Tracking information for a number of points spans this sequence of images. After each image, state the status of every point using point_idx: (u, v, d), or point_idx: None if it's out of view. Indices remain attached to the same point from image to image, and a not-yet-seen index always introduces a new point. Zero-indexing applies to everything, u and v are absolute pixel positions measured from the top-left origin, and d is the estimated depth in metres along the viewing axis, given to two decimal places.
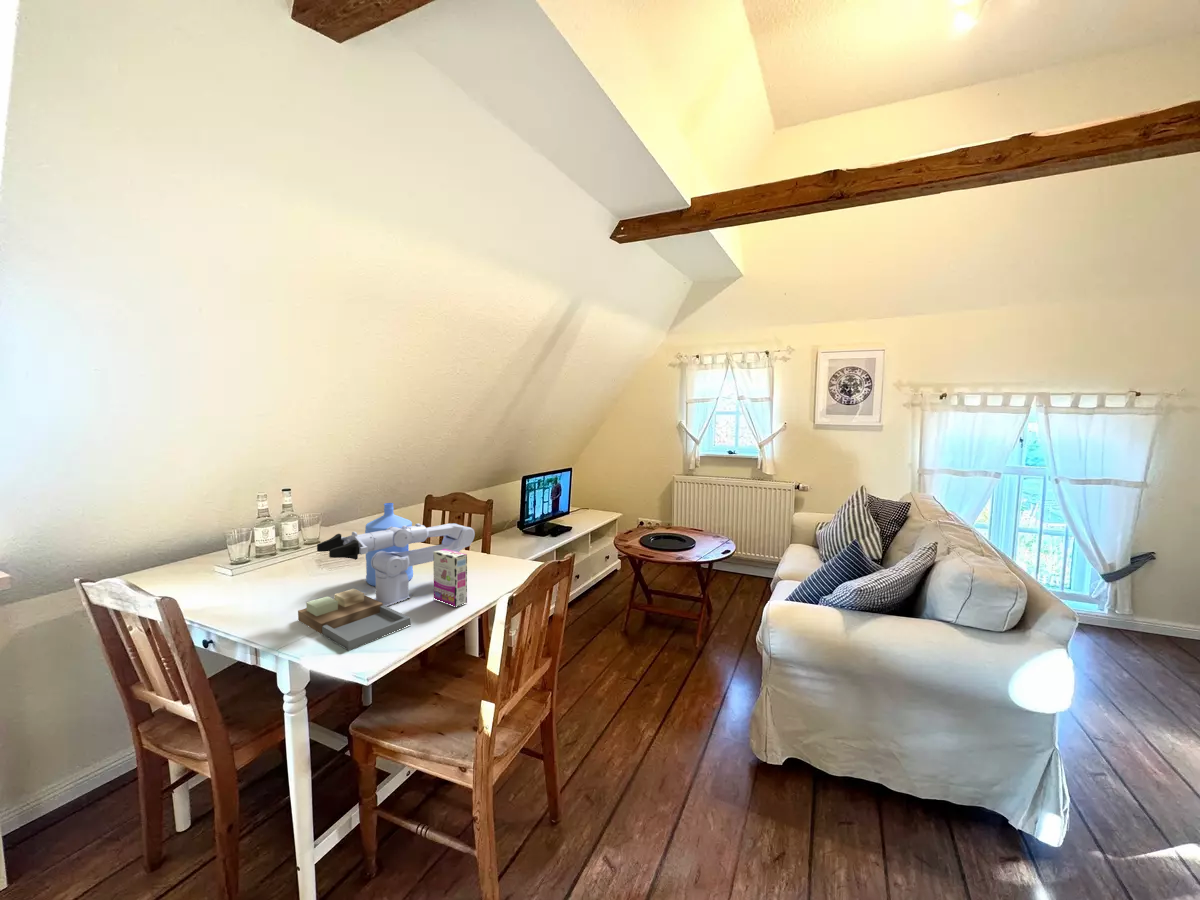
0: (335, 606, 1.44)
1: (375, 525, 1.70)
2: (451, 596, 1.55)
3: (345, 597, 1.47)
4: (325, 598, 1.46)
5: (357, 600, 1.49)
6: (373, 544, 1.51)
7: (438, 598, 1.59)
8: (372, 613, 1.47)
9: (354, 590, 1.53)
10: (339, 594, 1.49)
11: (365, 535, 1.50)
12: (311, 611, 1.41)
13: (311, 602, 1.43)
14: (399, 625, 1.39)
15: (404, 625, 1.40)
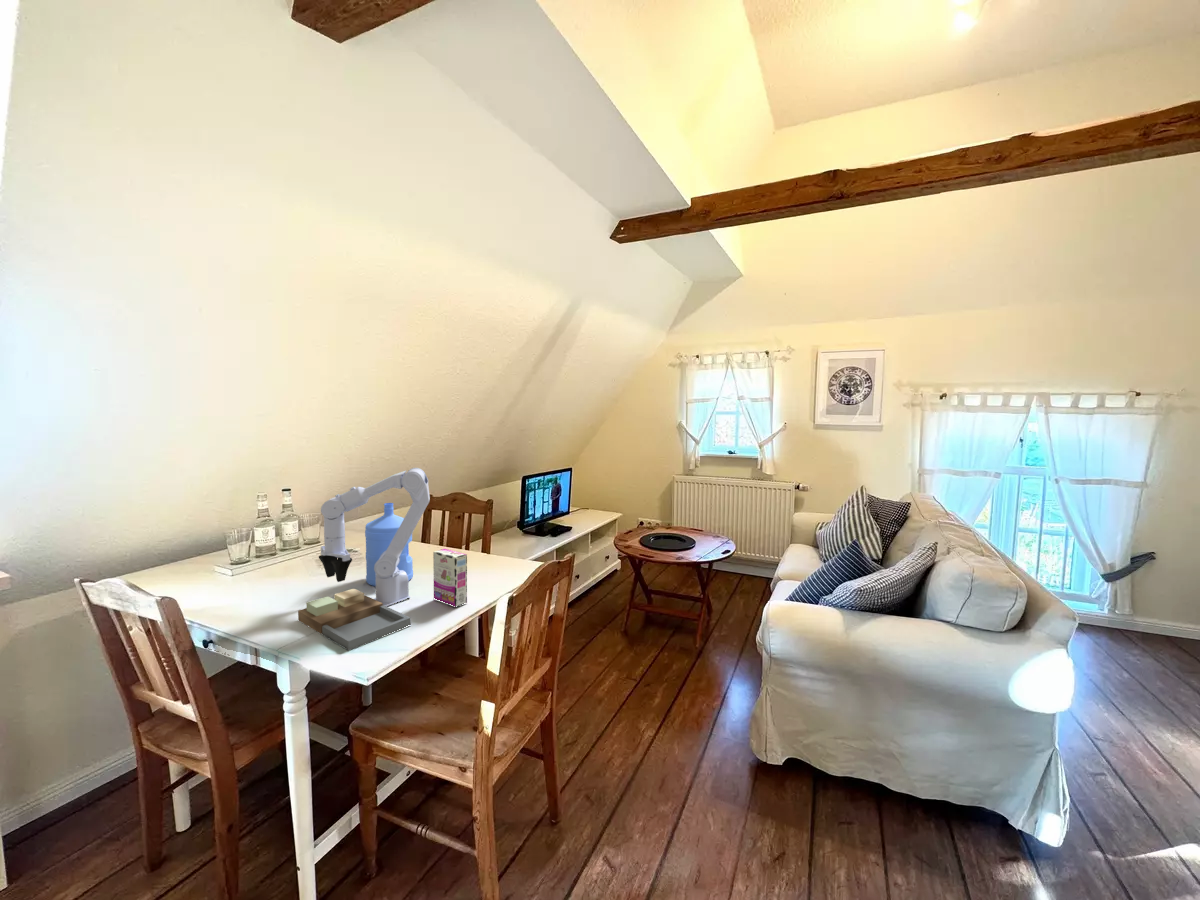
0: (335, 606, 1.44)
1: (375, 525, 1.70)
2: (451, 596, 1.55)
3: (345, 597, 1.47)
4: (325, 598, 1.46)
5: (357, 600, 1.49)
6: (339, 538, 1.52)
7: (438, 598, 1.59)
8: (372, 613, 1.47)
9: (354, 590, 1.53)
10: (339, 594, 1.49)
11: (327, 544, 1.51)
12: (311, 611, 1.41)
13: (311, 602, 1.43)
14: (399, 625, 1.39)
15: (404, 625, 1.40)
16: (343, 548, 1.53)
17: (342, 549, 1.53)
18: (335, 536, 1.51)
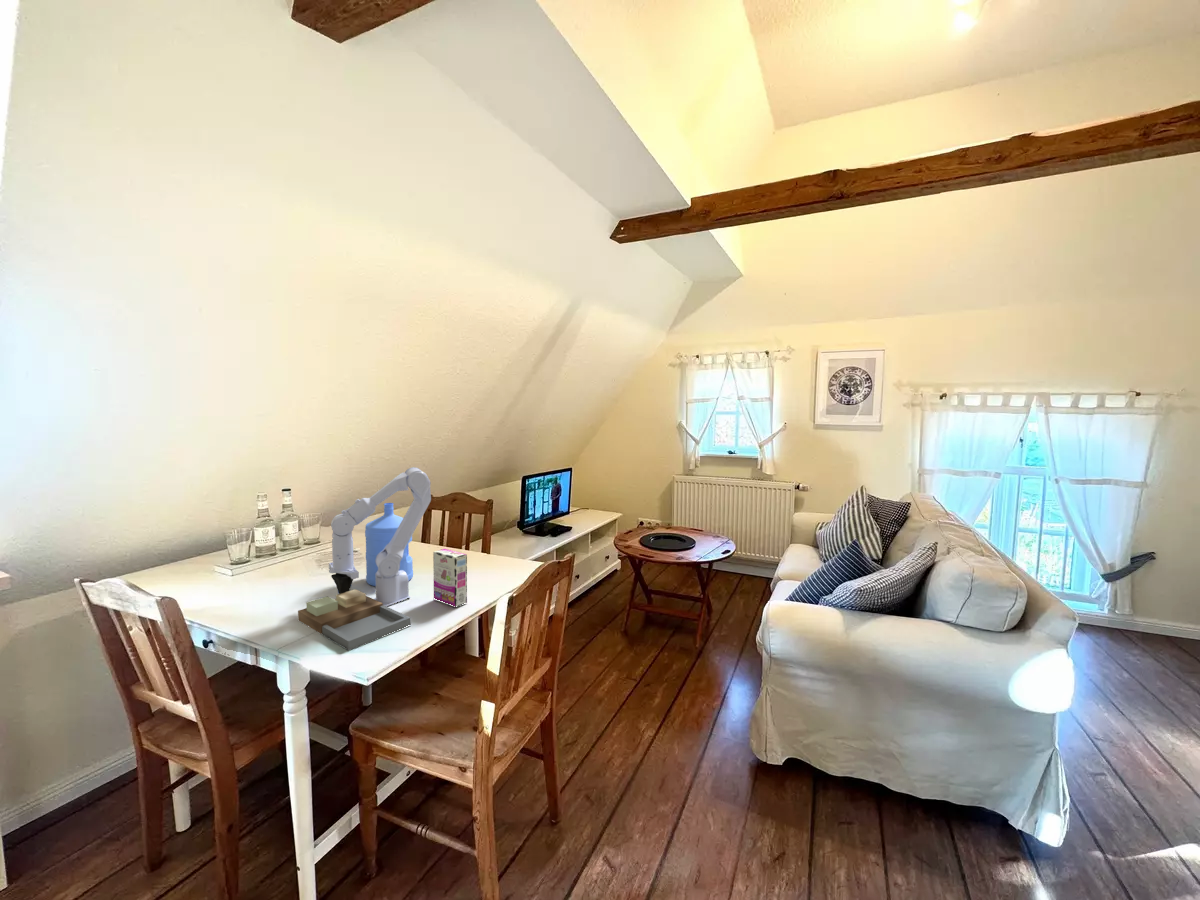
0: (335, 606, 1.44)
1: (375, 525, 1.70)
2: (451, 596, 1.55)
3: (346, 598, 1.46)
4: (325, 598, 1.46)
5: (358, 601, 1.49)
6: (347, 555, 1.49)
7: (438, 598, 1.59)
8: (372, 613, 1.47)
9: (356, 591, 1.52)
10: (341, 595, 1.49)
11: (335, 562, 1.48)
12: (311, 611, 1.41)
13: (311, 602, 1.43)
14: (399, 625, 1.39)
15: (404, 625, 1.40)
16: (351, 565, 1.51)
17: (350, 566, 1.51)
18: (346, 553, 1.49)
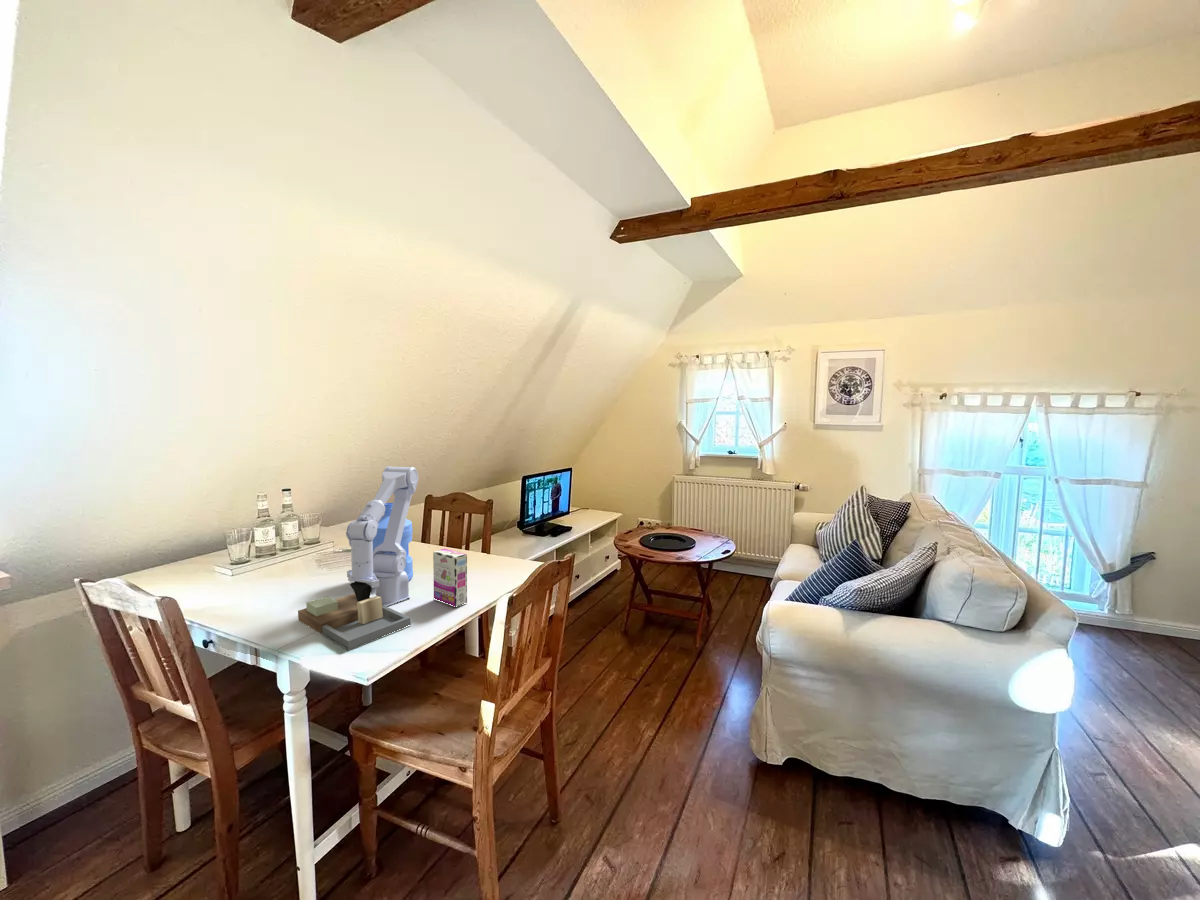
0: (335, 606, 1.44)
1: None
2: (451, 596, 1.55)
3: (364, 620, 1.41)
4: (325, 598, 1.46)
5: None
6: (367, 563, 1.43)
7: (438, 598, 1.59)
8: None
9: (379, 603, 1.44)
10: (364, 607, 1.41)
11: (355, 569, 1.42)
12: (311, 611, 1.41)
13: (311, 602, 1.43)
14: (399, 625, 1.39)
15: (404, 625, 1.40)
16: (371, 573, 1.44)
17: (370, 574, 1.44)
18: (372, 558, 1.45)
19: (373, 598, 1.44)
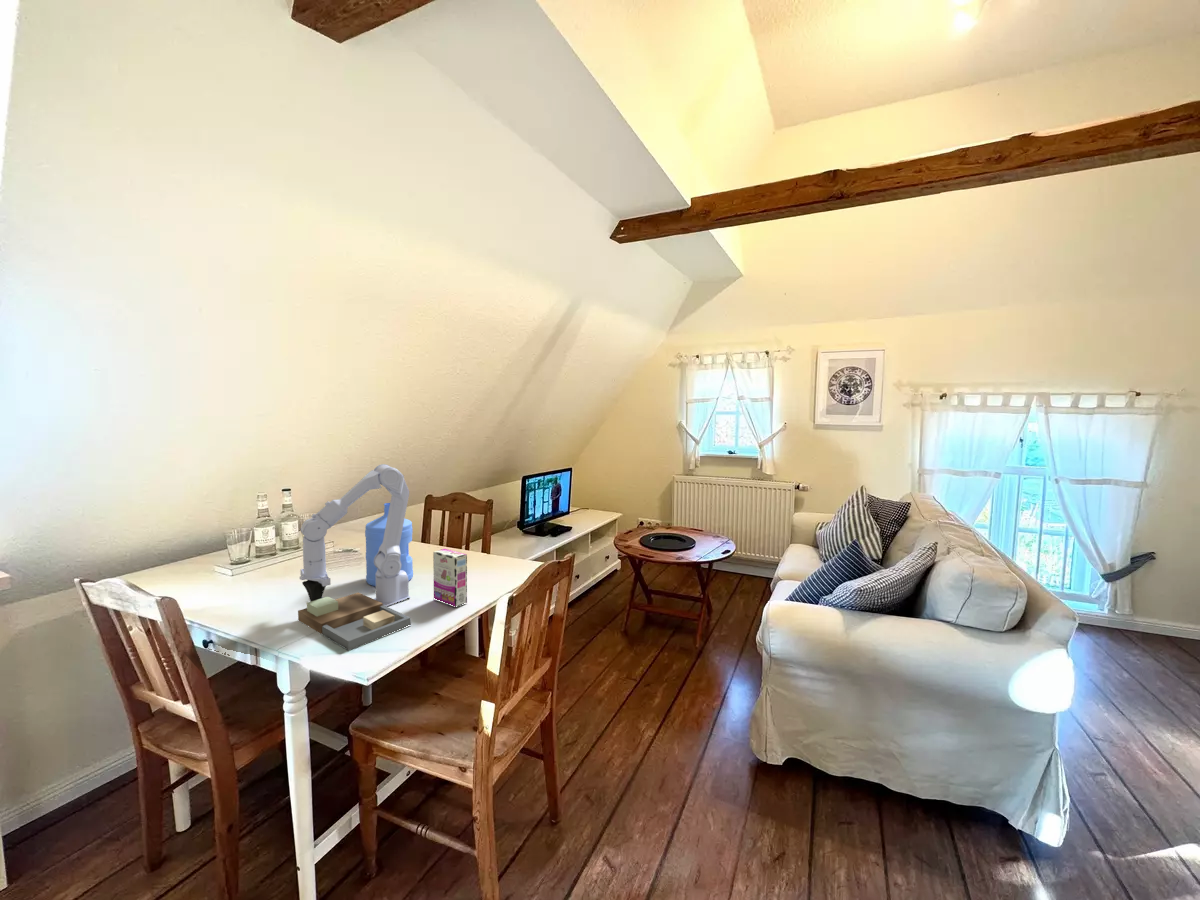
0: (335, 606, 1.44)
1: (375, 525, 1.70)
2: (451, 596, 1.55)
3: None
4: (325, 598, 1.46)
5: None
6: (319, 562, 1.43)
7: (438, 598, 1.59)
8: (372, 613, 1.47)
9: None
10: None
11: (306, 568, 1.42)
12: (311, 611, 1.41)
13: (311, 602, 1.43)
14: (399, 625, 1.39)
15: (404, 625, 1.40)
16: (323, 572, 1.45)
17: (322, 573, 1.45)
18: (319, 558, 1.43)
19: (388, 622, 1.40)
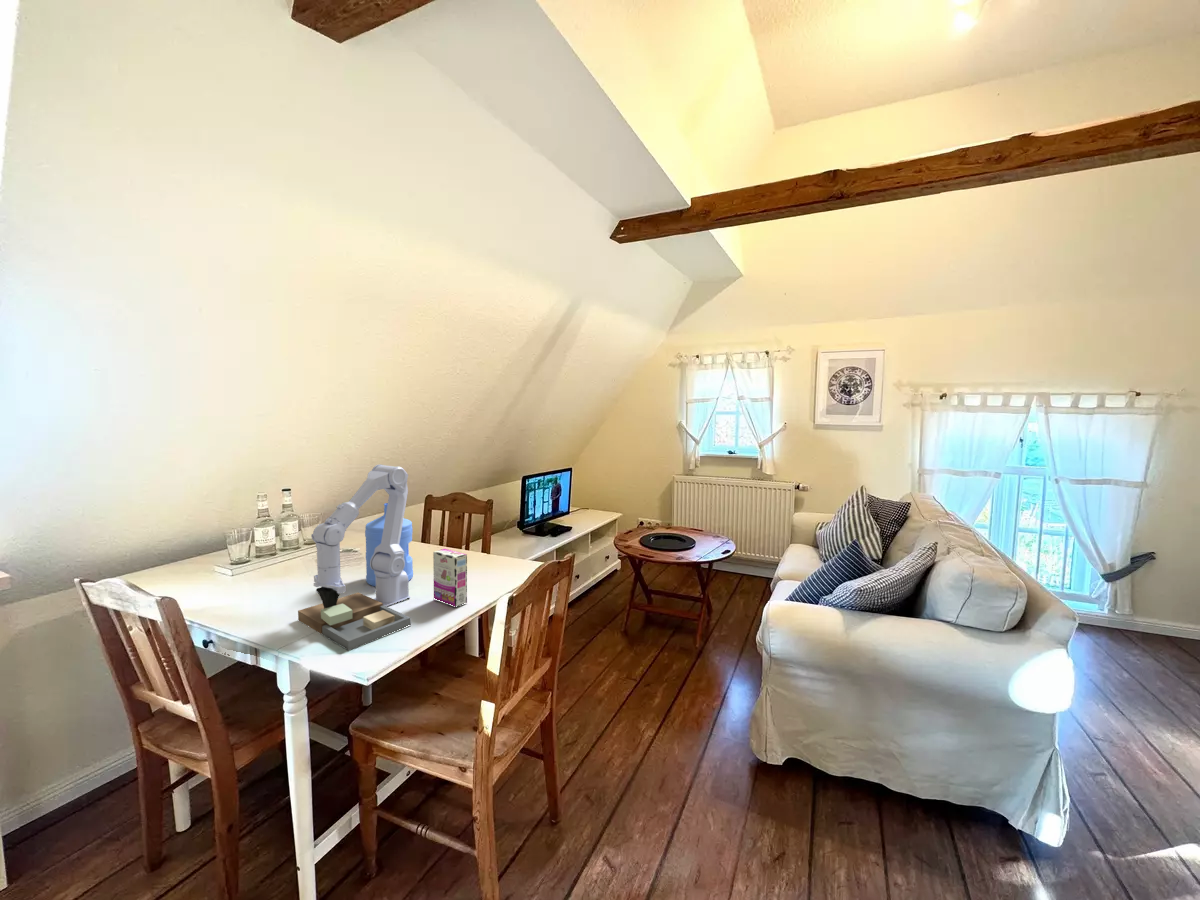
0: (350, 615, 1.39)
1: (375, 525, 1.70)
2: (451, 596, 1.55)
3: None
4: (340, 606, 1.41)
5: None
6: (334, 568, 1.38)
7: (438, 598, 1.59)
8: (372, 613, 1.47)
9: None
10: None
11: (321, 574, 1.37)
12: (325, 619, 1.36)
13: (326, 610, 1.38)
14: (399, 625, 1.39)
15: (404, 625, 1.40)
16: (338, 578, 1.40)
17: (337, 579, 1.40)
18: (337, 563, 1.39)
19: (388, 622, 1.40)
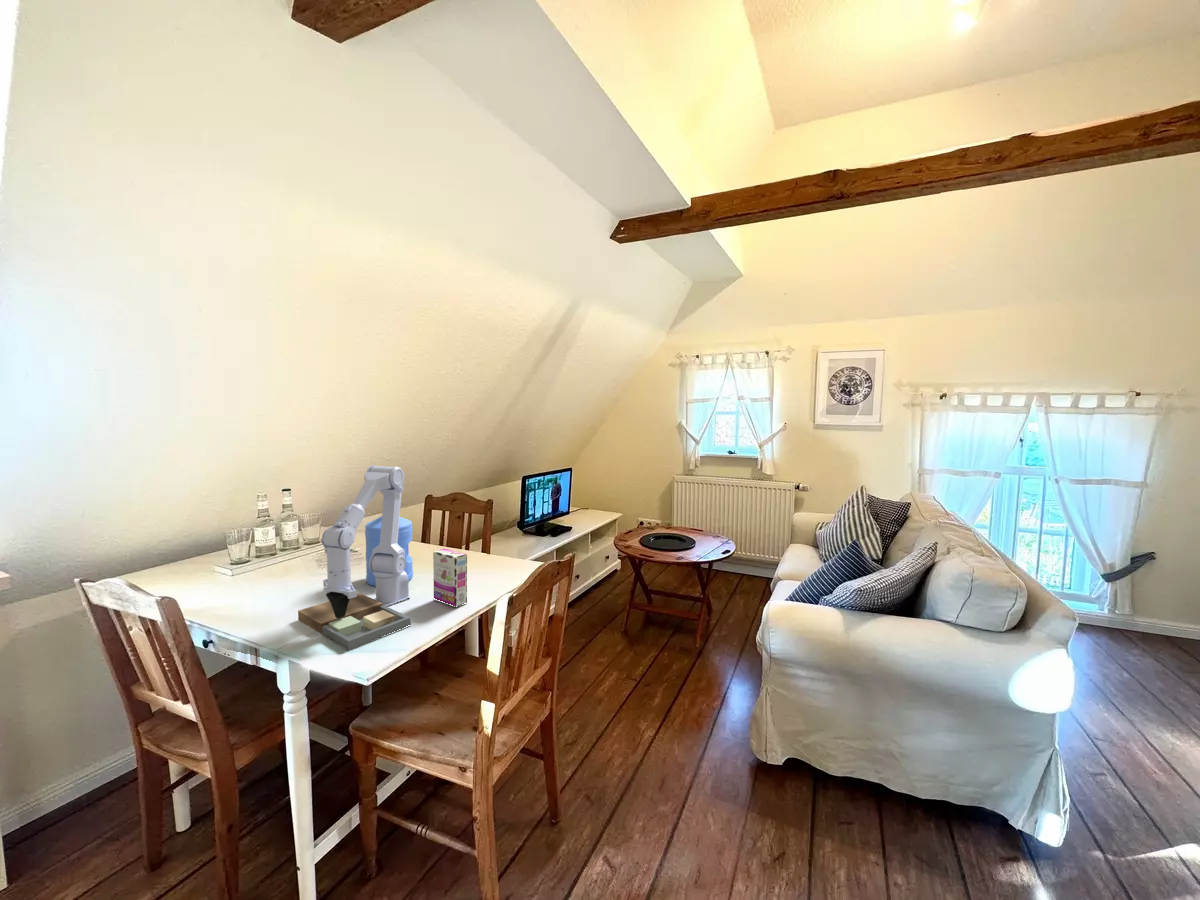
0: (358, 627, 1.36)
1: (375, 525, 1.70)
2: (451, 596, 1.55)
3: None
4: (348, 618, 1.39)
5: None
6: (344, 572, 1.35)
7: (438, 598, 1.59)
8: (372, 613, 1.47)
9: None
10: None
11: (331, 579, 1.34)
12: None
13: (334, 622, 1.36)
14: (399, 625, 1.39)
15: (404, 625, 1.40)
16: (348, 583, 1.37)
17: (347, 584, 1.36)
18: (349, 567, 1.37)
19: (388, 622, 1.40)
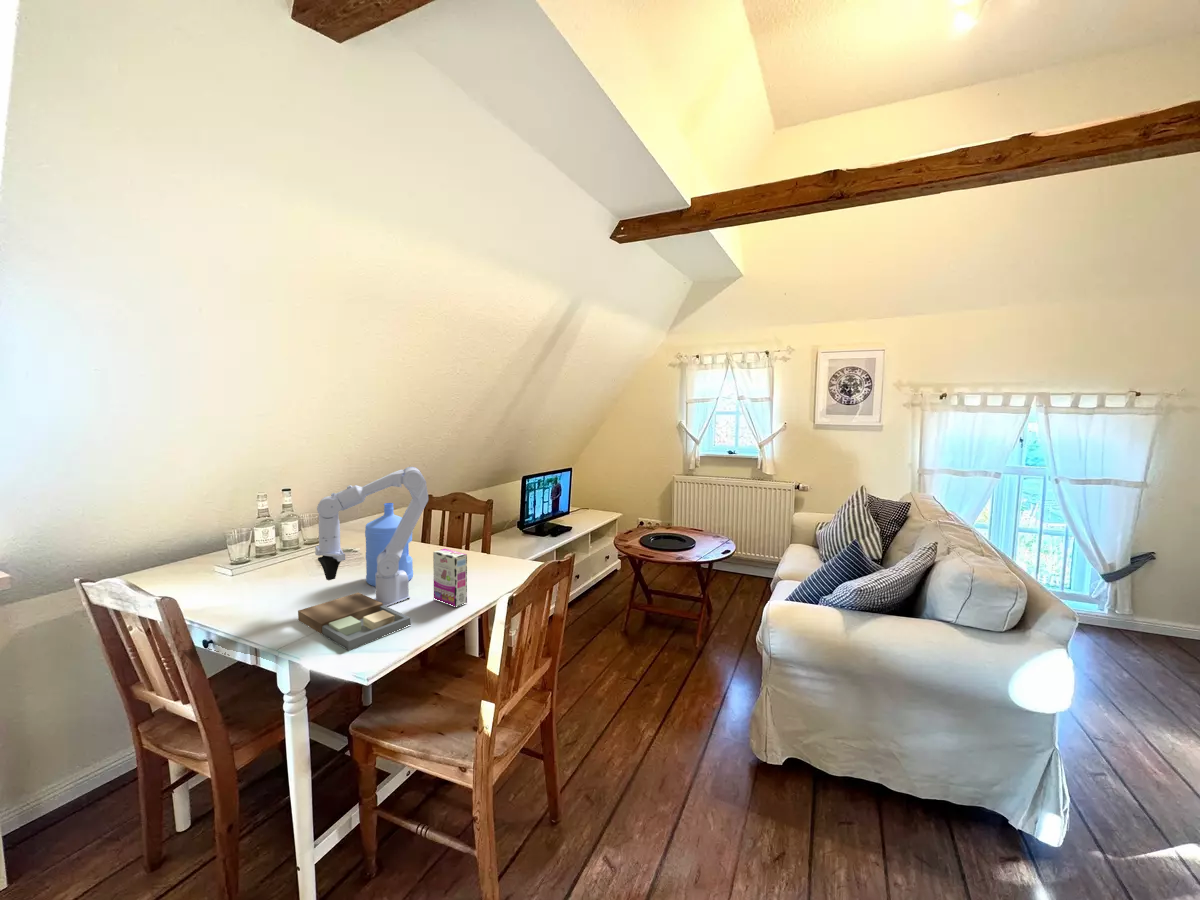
0: (358, 627, 1.36)
1: (375, 525, 1.70)
2: (451, 596, 1.55)
3: None
4: (348, 618, 1.39)
5: None
6: (334, 538, 1.49)
7: (438, 598, 1.59)
8: (372, 613, 1.47)
9: None
10: None
11: (322, 544, 1.48)
12: None
13: (334, 622, 1.36)
14: (399, 625, 1.39)
15: (404, 625, 1.40)
16: (338, 548, 1.50)
17: (337, 549, 1.50)
18: (332, 535, 1.48)
19: (388, 622, 1.40)
